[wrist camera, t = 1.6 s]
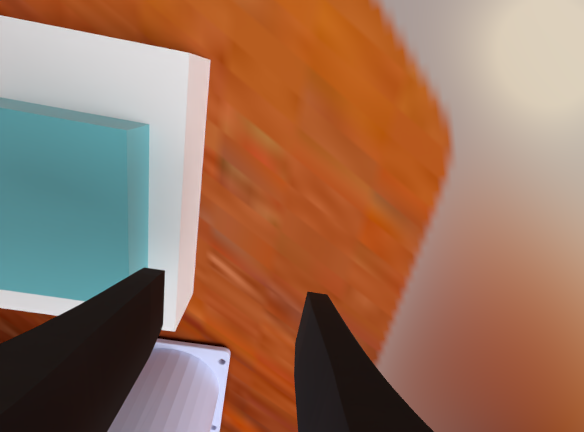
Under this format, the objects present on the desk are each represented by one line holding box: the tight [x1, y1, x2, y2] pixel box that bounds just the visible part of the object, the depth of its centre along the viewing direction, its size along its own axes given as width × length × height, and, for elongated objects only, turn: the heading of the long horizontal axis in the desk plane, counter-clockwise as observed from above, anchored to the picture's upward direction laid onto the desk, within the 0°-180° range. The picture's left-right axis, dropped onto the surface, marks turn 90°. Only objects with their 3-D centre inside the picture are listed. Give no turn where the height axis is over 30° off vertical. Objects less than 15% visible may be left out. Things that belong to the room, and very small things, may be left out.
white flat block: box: [0, 15, 210, 332], centre depth 16 cm, size 14×12×4 cm
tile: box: [0, 97, 149, 301], centre depth 14 cm, size 8×6×2 cm
